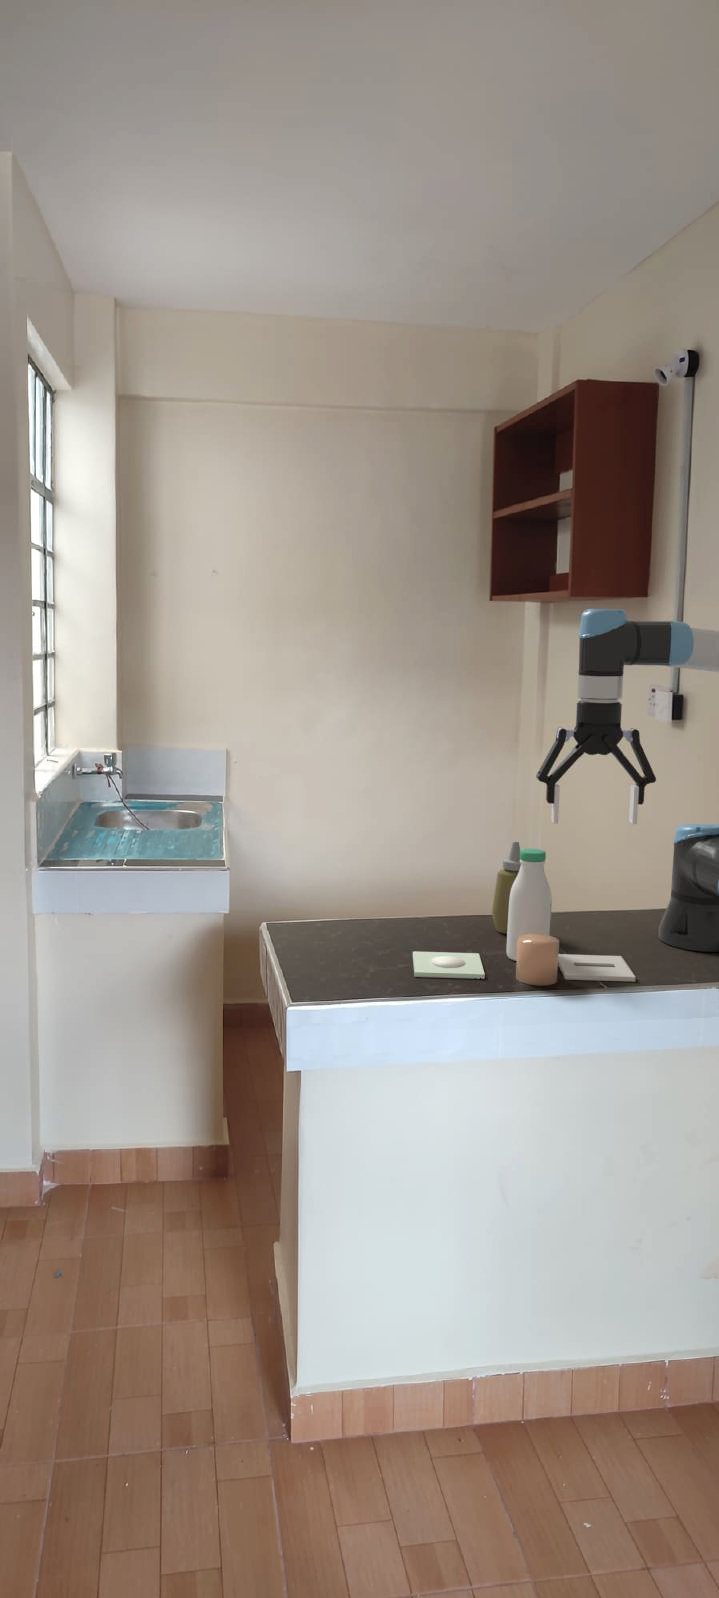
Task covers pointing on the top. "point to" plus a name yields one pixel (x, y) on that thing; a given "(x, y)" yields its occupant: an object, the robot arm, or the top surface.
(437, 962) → the tile
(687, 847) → the robot arm
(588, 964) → the tile
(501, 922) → the squeeze bottle
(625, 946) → the top surface
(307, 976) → the top surface
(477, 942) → the top surface
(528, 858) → the milk bottle
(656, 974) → the top surface
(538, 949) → the rounded peach cylinder
